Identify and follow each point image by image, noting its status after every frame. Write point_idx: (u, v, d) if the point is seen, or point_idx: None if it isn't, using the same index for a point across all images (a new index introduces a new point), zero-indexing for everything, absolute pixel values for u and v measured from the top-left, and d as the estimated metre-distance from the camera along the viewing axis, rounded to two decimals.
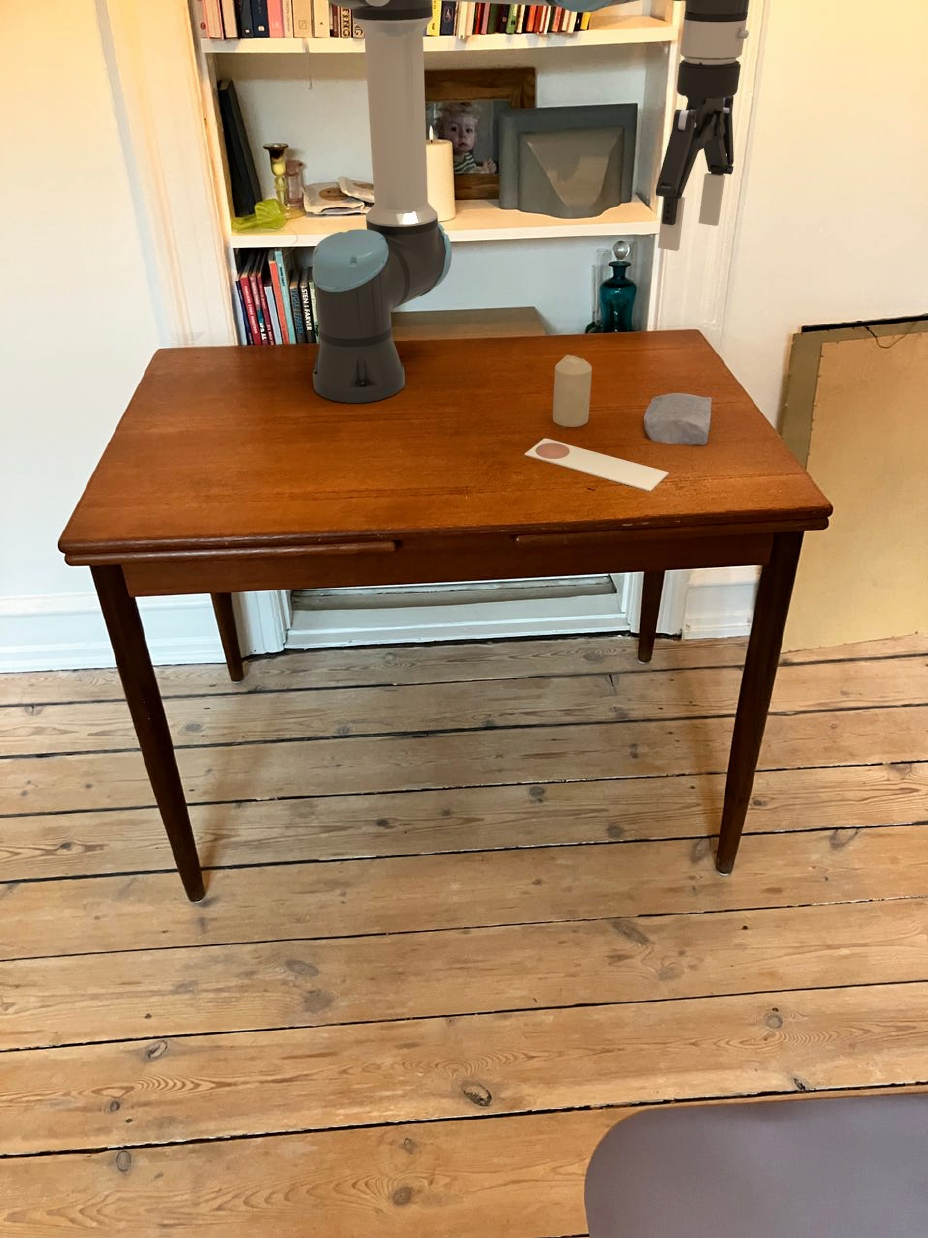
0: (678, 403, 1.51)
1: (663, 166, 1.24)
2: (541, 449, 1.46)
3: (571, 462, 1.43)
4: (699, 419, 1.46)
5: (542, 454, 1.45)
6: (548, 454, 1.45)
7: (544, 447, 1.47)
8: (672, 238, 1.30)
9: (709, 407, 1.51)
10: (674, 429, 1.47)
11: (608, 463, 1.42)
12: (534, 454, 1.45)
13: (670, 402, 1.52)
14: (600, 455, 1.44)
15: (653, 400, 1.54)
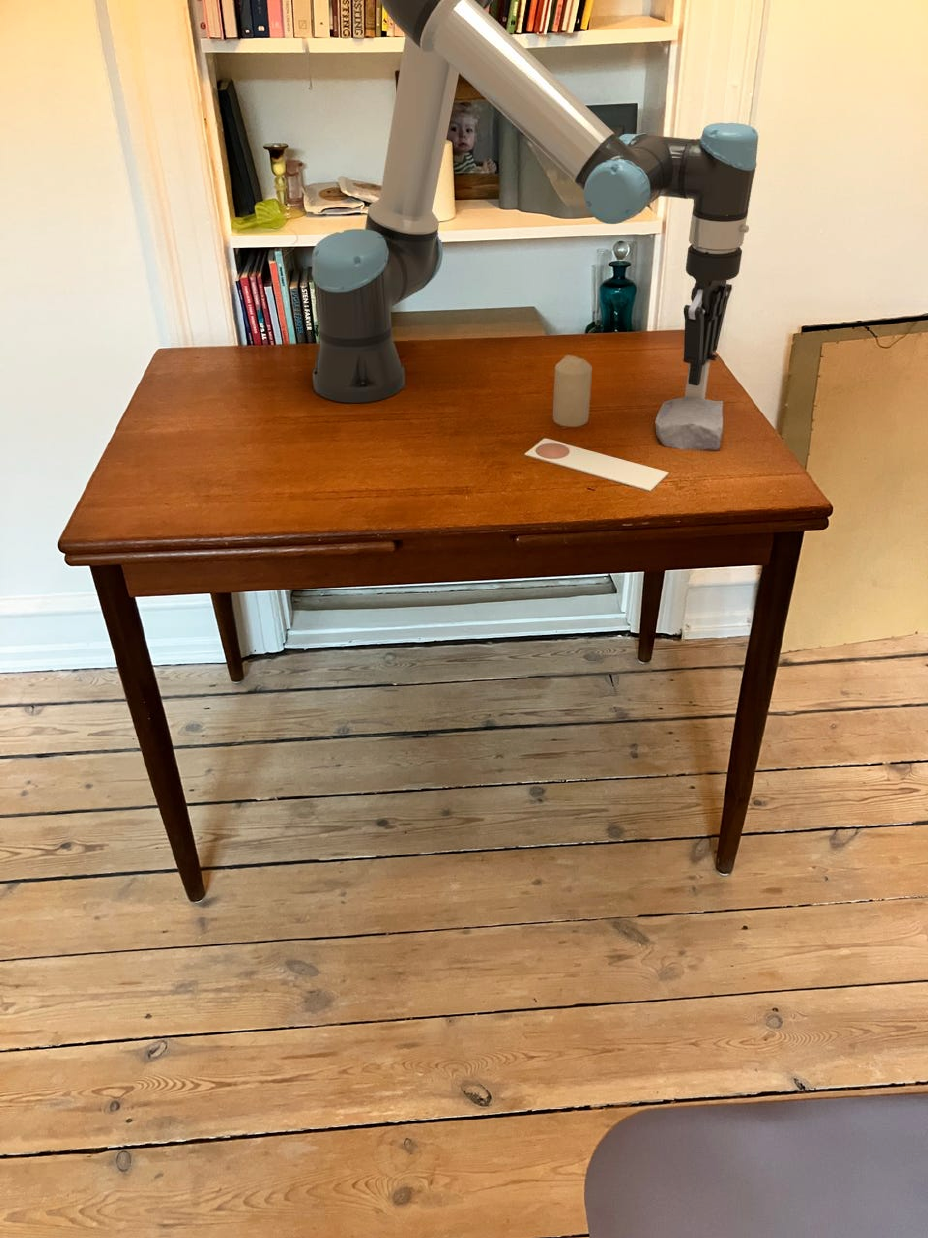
0: (689, 408, 1.50)
1: (685, 345, 1.47)
2: (541, 449, 1.46)
3: (571, 462, 1.43)
4: (711, 424, 1.44)
5: (542, 454, 1.45)
6: (548, 454, 1.45)
7: (544, 447, 1.47)
8: (696, 394, 1.54)
9: (721, 411, 1.50)
10: (686, 433, 1.46)
11: (608, 463, 1.42)
12: (534, 454, 1.45)
13: (681, 406, 1.51)
14: (600, 455, 1.44)
15: (664, 404, 1.53)
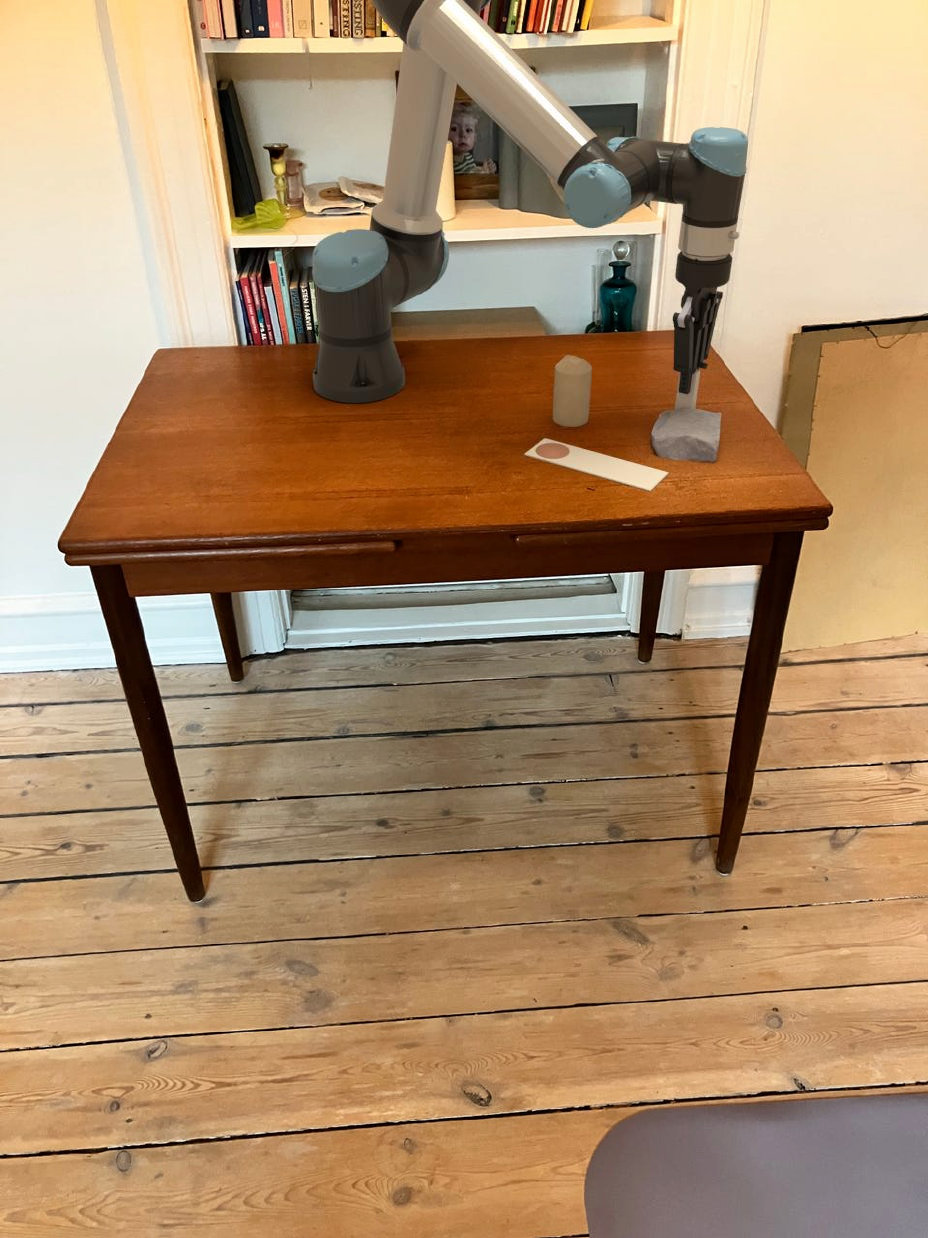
0: (686, 419, 1.47)
1: (675, 354, 1.44)
2: (541, 449, 1.46)
3: (571, 462, 1.43)
4: (708, 436, 1.42)
5: (542, 454, 1.45)
6: (548, 454, 1.45)
7: (544, 447, 1.47)
8: (687, 403, 1.51)
9: (719, 423, 1.47)
10: (682, 445, 1.43)
11: (608, 463, 1.42)
12: (534, 454, 1.45)
13: (678, 417, 1.48)
14: (600, 455, 1.44)
15: (661, 415, 1.50)
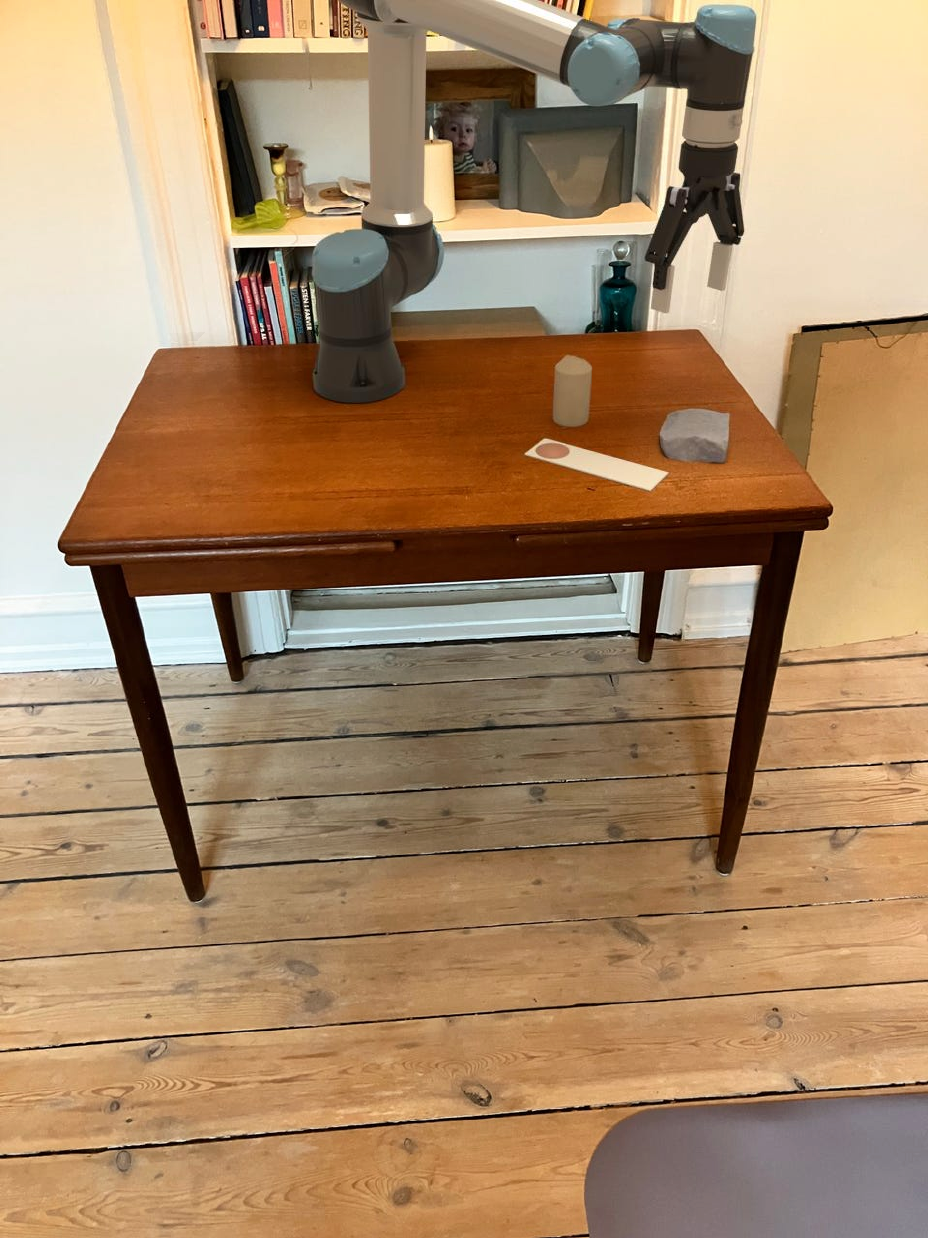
0: (695, 420, 1.47)
1: (653, 236, 1.35)
2: (541, 449, 1.46)
3: (571, 462, 1.43)
4: (717, 436, 1.41)
5: (542, 454, 1.45)
6: (548, 454, 1.45)
7: (544, 447, 1.47)
8: (662, 301, 1.41)
9: (727, 423, 1.47)
10: (691, 446, 1.42)
11: (608, 463, 1.42)
12: (534, 454, 1.45)
13: (686, 418, 1.48)
14: (600, 455, 1.44)
15: (669, 416, 1.50)
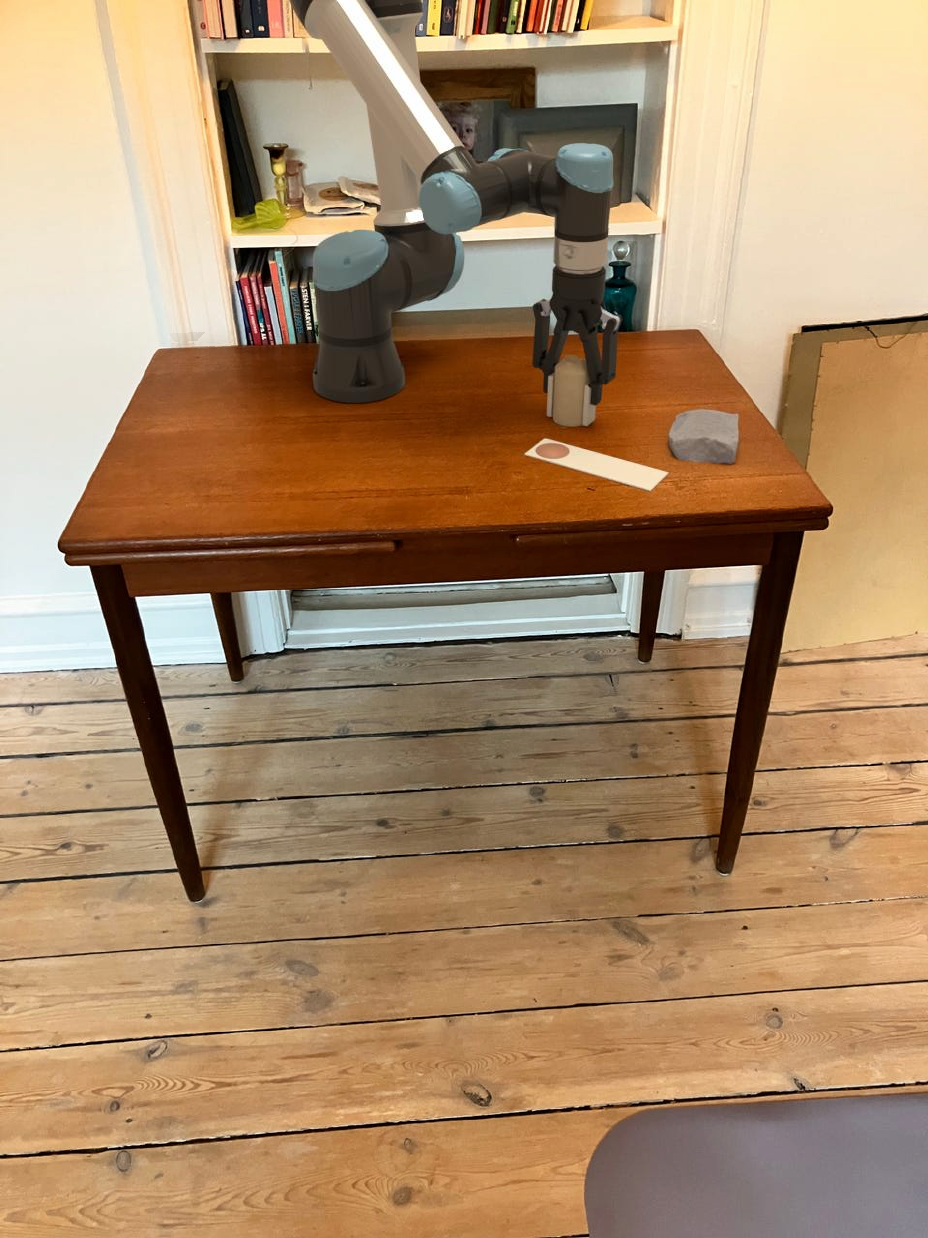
0: (704, 420, 1.47)
1: None
2: (541, 449, 1.46)
3: (571, 462, 1.43)
4: (727, 437, 1.41)
5: (542, 454, 1.45)
6: (548, 454, 1.45)
7: (544, 447, 1.47)
8: None
9: (736, 424, 1.46)
10: (701, 447, 1.42)
11: (608, 463, 1.42)
12: (534, 454, 1.45)
13: (695, 419, 1.47)
14: (600, 455, 1.44)
15: (678, 417, 1.49)
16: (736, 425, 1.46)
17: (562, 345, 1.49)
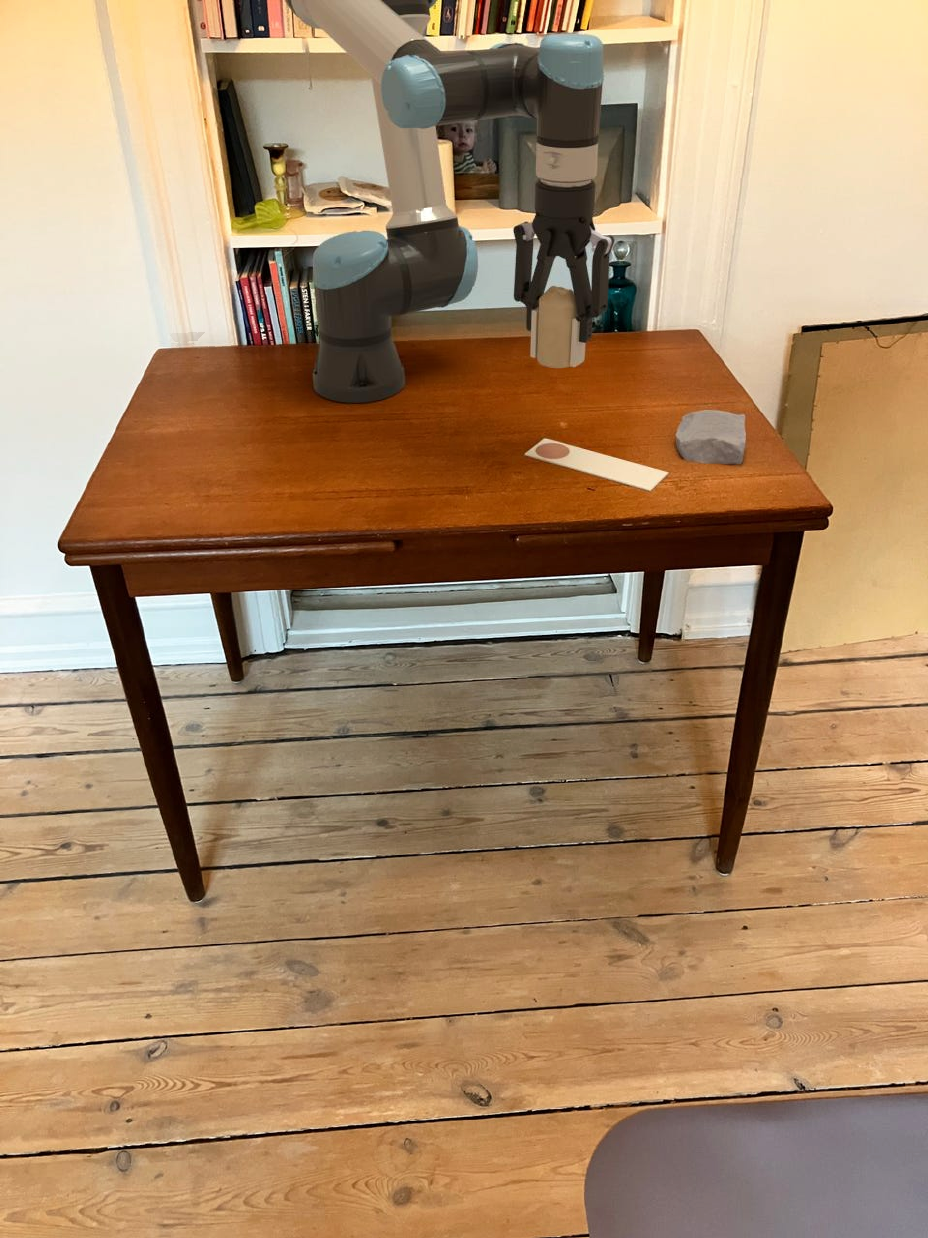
0: (711, 421, 1.46)
1: None
2: (541, 449, 1.46)
3: (571, 462, 1.43)
4: (734, 438, 1.41)
5: (542, 454, 1.45)
6: (548, 454, 1.45)
7: (544, 447, 1.47)
8: None
9: (743, 425, 1.46)
10: (708, 448, 1.42)
11: (608, 463, 1.42)
12: (534, 454, 1.45)
13: (702, 419, 1.47)
14: (600, 455, 1.44)
15: (684, 417, 1.49)
16: (743, 426, 1.46)
17: (547, 274, 1.32)
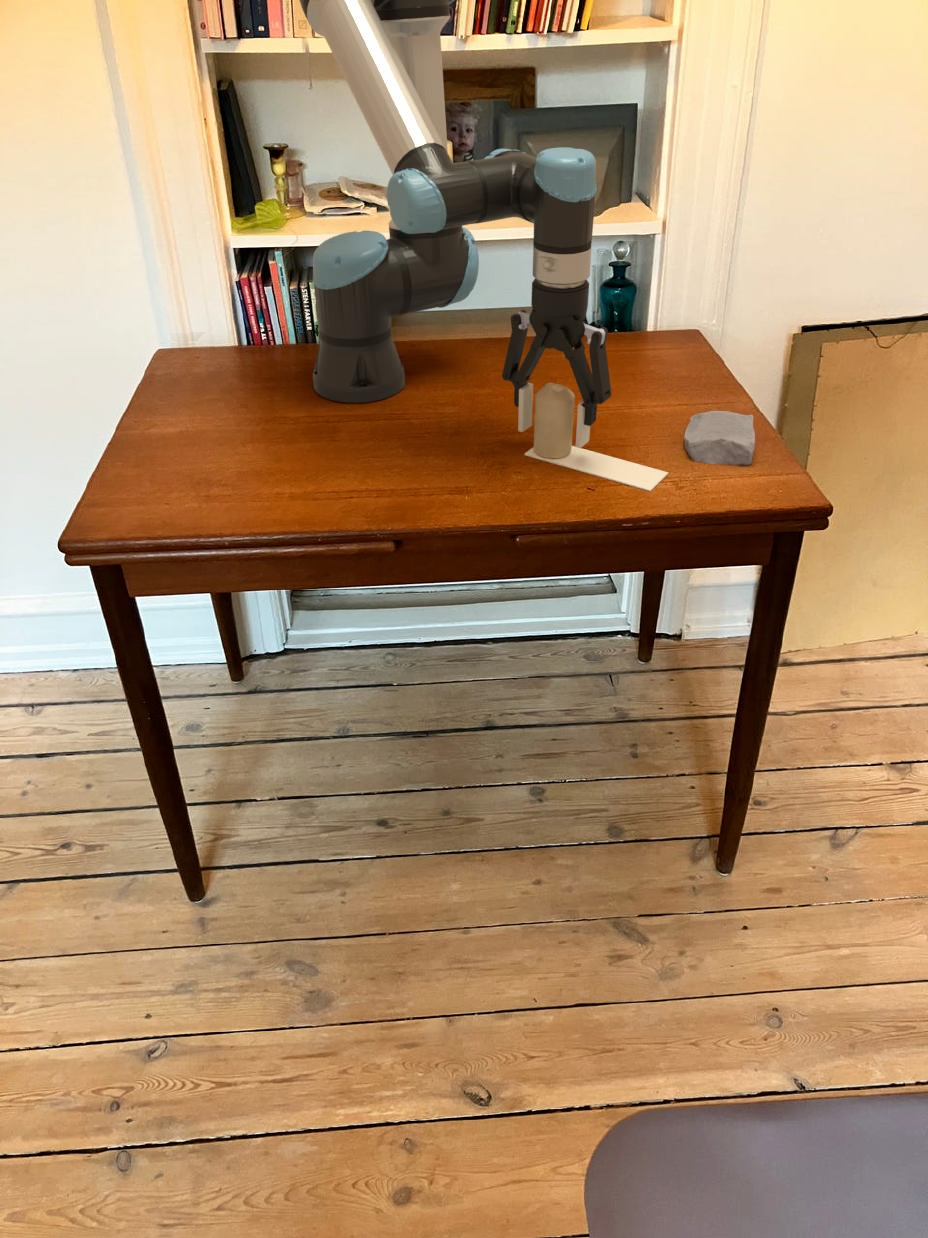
0: (719, 422, 1.46)
1: None
2: None
3: (571, 462, 1.43)
4: (743, 439, 1.41)
5: None
6: None
7: None
8: None
9: (751, 425, 1.46)
10: (718, 449, 1.42)
11: (608, 463, 1.42)
12: (534, 454, 1.45)
13: (710, 420, 1.47)
14: (600, 455, 1.44)
15: (692, 418, 1.49)
16: (751, 426, 1.46)
17: (537, 360, 1.40)
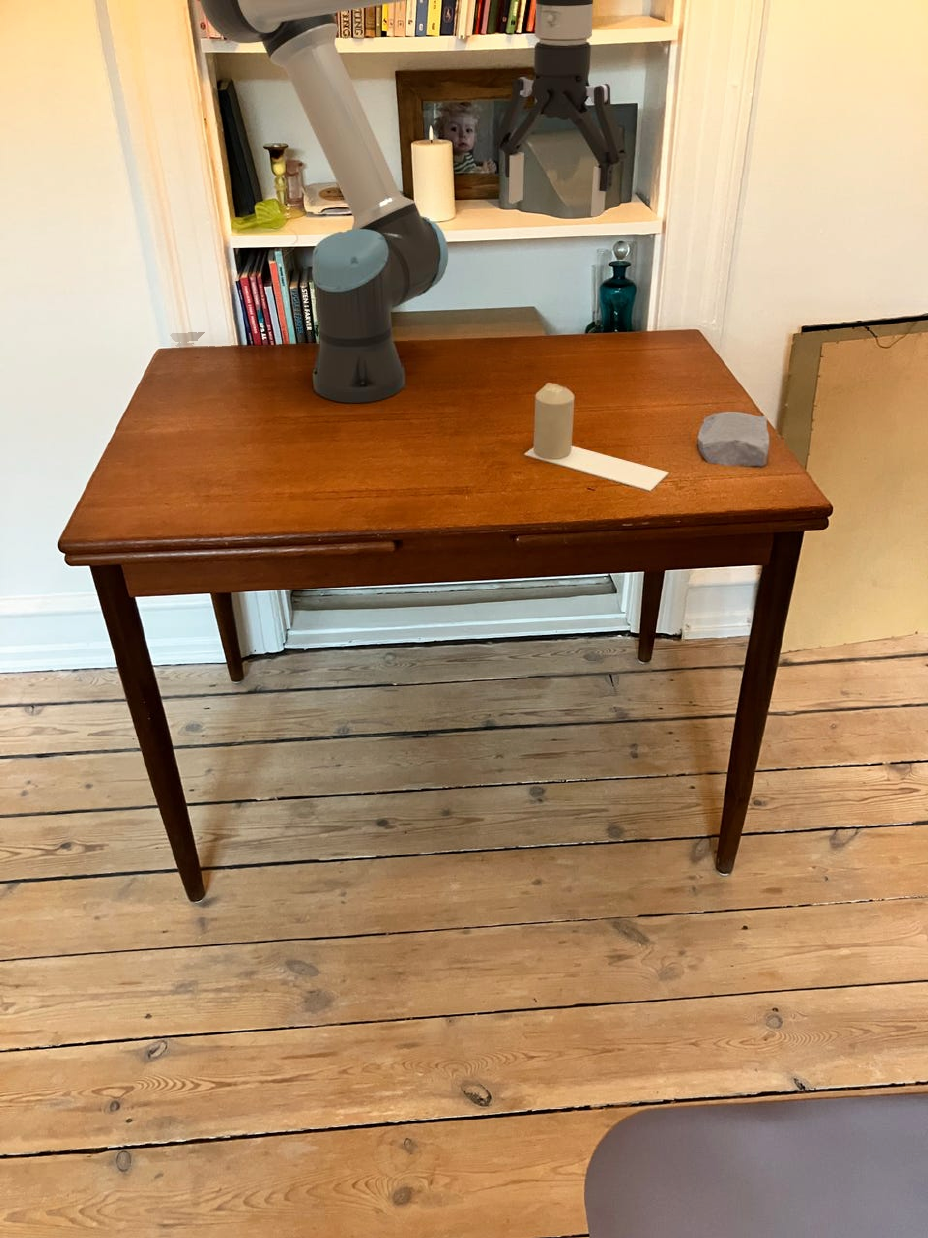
0: (733, 423, 1.46)
1: None
2: None
3: (571, 462, 1.43)
4: (758, 440, 1.40)
5: None
6: None
7: None
8: None
9: (765, 427, 1.46)
10: (732, 450, 1.41)
11: (608, 463, 1.42)
12: (534, 454, 1.45)
13: (724, 422, 1.47)
14: (600, 455, 1.44)
15: (706, 420, 1.48)
16: (765, 427, 1.45)
17: (532, 129, 1.42)
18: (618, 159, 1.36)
